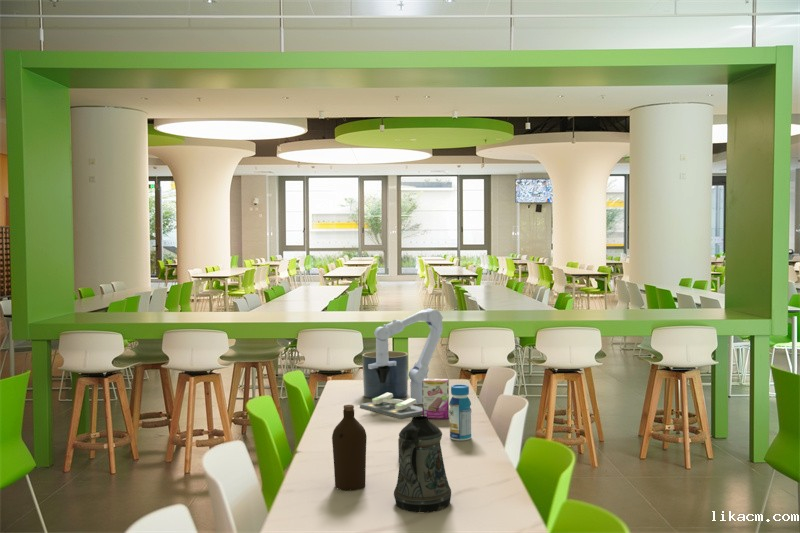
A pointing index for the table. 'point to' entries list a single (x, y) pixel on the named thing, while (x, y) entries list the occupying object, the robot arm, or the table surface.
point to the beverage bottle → (460, 413)
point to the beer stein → (421, 469)
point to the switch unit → (393, 409)
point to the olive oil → (349, 452)
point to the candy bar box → (435, 398)
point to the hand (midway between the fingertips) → (382, 382)
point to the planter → (394, 379)
